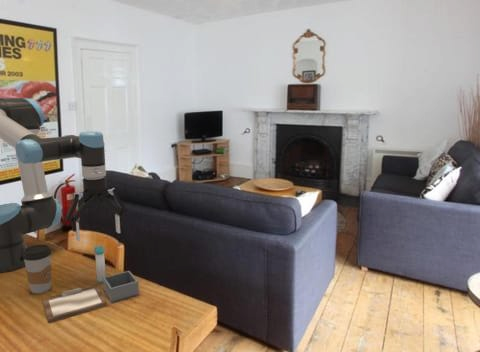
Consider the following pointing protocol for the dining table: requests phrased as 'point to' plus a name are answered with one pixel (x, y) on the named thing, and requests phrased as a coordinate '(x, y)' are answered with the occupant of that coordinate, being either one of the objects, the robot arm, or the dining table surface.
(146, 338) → the dining table surface
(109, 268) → the dining table surface
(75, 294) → the clipboard
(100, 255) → the marker
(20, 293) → the dining table surface
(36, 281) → the coffee cup
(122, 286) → the grey open box
